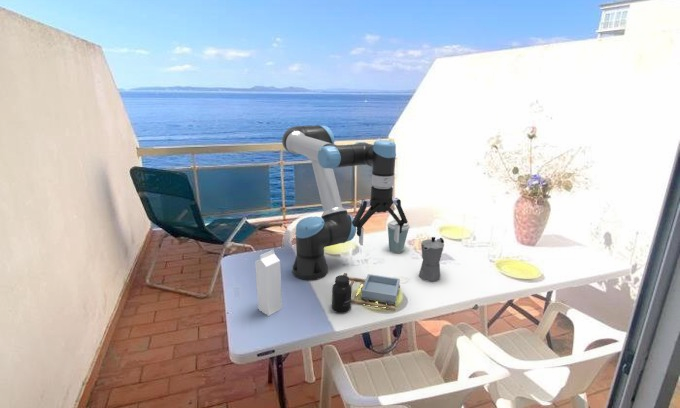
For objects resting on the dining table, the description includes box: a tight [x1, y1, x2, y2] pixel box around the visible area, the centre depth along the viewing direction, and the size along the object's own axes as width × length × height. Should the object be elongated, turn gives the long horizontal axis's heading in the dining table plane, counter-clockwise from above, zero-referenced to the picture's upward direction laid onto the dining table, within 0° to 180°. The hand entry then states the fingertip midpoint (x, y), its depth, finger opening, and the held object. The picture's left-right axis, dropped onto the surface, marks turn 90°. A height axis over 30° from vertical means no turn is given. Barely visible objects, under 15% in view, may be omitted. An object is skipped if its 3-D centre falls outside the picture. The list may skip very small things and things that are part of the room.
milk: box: [254, 249, 283, 317], centre depth 118 cm, size 6×6×22 cm
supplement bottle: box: [331, 274, 353, 314], centre depth 121 cm, size 7×7×12 cm
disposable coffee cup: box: [386, 219, 410, 254], centre depth 168 cm, size 11×11×15 cm
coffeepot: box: [418, 236, 445, 283], centre depth 144 cm, size 15×9×18 cm, turn 136°
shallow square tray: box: [360, 273, 401, 306], centre depth 131 cm, size 13×14×4 cm
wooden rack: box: [342, 272, 401, 312], centre depth 132 cm, size 23×17×2 cm
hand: (378, 242), depth 126 cm, fingers open, 13 cm apart
